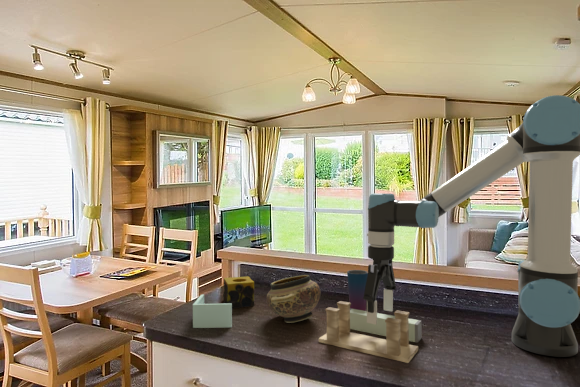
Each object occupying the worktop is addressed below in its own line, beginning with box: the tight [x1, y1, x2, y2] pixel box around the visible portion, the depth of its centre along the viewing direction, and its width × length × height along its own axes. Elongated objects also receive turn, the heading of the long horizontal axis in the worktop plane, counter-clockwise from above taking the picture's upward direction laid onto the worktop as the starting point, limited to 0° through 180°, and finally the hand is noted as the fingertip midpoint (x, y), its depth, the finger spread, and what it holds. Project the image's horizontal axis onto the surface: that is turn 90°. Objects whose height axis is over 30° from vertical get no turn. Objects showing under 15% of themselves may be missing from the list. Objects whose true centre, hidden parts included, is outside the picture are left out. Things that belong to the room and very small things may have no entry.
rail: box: [350, 308, 423, 343], centre depth 114 cm, size 22×4×5 cm, turn 56°
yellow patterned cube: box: [222, 275, 255, 309], centre depth 142 cm, size 10×10×10 cm
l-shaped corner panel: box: [192, 294, 233, 329], centre depth 125 cm, size 12×12×8 cm
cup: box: [346, 269, 368, 311], centre depth 129 cm, size 7×7×15 cm
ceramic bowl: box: [265, 274, 322, 324], centre depth 125 cm, size 24×18×15 cm
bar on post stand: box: [318, 300, 419, 364], centre depth 104 cm, size 25×9×10 cm, turn 56°
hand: (380, 316), depth 114 cm, fingers open, 13 cm apart
